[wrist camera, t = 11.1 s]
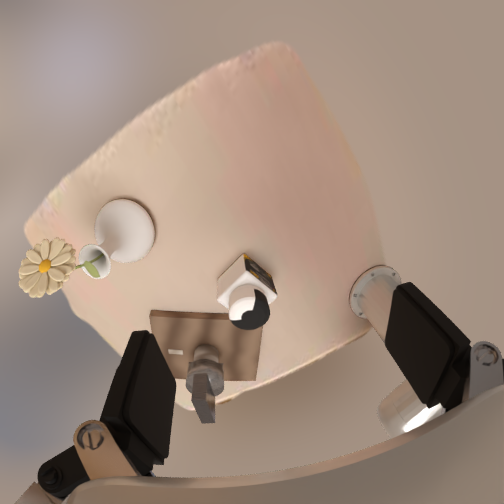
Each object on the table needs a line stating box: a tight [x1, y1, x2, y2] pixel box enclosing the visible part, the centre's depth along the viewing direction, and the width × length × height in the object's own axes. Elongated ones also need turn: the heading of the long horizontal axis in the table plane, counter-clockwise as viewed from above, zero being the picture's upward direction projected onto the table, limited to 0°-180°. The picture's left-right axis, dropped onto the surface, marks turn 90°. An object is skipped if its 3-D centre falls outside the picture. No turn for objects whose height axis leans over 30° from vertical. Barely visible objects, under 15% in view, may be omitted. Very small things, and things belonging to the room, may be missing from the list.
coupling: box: [186, 359, 224, 423], centre depth 45 cm, size 10×7×10 cm
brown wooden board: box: [149, 310, 263, 381], centre depth 52 cm, size 22×18×7 cm
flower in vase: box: [18, 199, 155, 298], centre depth 32 cm, size 13×11×25 cm
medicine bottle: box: [217, 254, 277, 330], centre depth 44 cm, size 7×7×12 cm
